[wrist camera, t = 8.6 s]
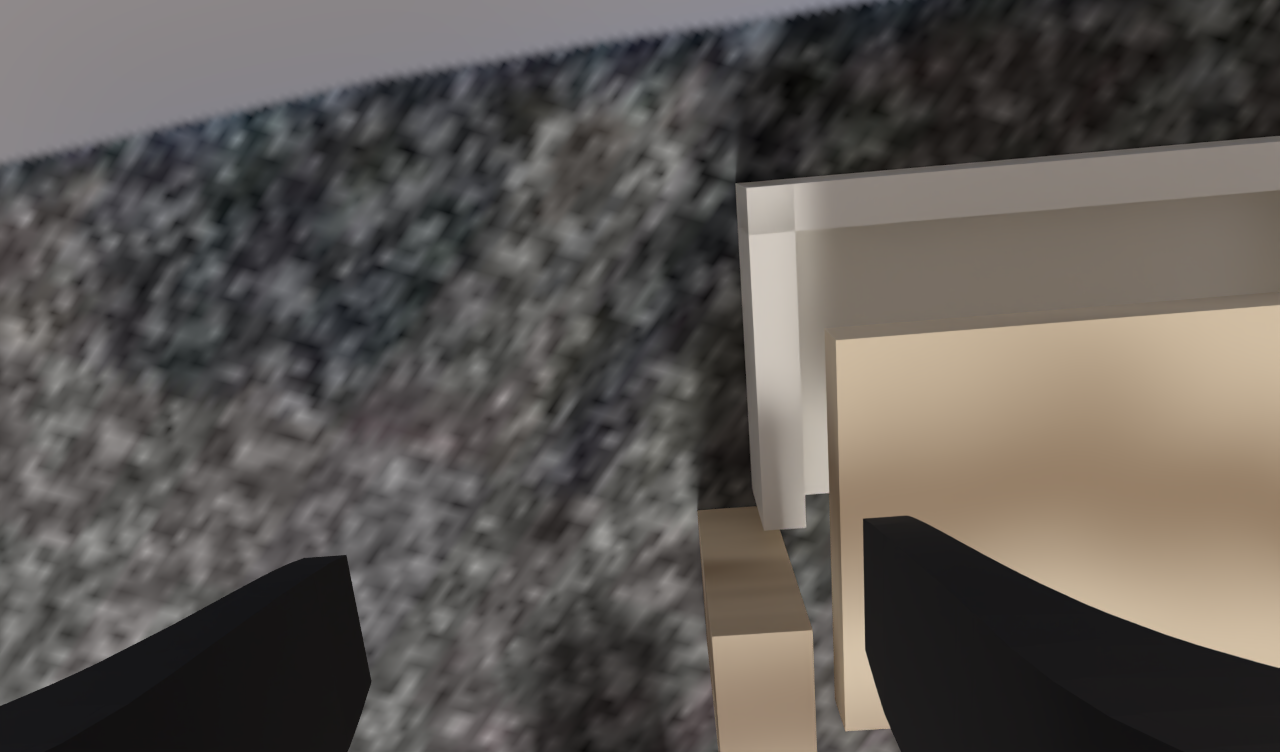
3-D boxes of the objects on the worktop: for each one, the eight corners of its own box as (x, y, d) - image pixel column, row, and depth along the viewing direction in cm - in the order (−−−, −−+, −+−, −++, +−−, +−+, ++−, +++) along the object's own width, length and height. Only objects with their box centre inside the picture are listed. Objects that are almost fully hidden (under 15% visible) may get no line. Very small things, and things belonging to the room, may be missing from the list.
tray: (1330, 131, 19) (1426, 128, 17) (1290, 450, 22) (1369, 488, 19) (735, 183, 20) (746, 187, 18) (752, 489, 22) (764, 530, 20)
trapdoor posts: (1326, 599, 23) (1557, 754, 17) (707, 640, 23) (723, 802, 18) (1347, 463, 22) (1600, 578, 16) (697, 510, 22) (712, 636, 17)
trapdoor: (1322, 874, 20) (1480, 1045, 16) (829, 900, 21) (869, 1072, 17) (1421, 263, 16) (1659, 298, 12) (810, 312, 17) (855, 361, 13)
